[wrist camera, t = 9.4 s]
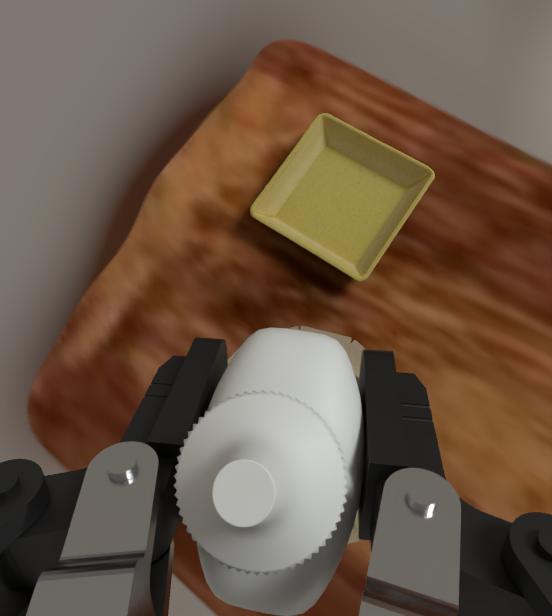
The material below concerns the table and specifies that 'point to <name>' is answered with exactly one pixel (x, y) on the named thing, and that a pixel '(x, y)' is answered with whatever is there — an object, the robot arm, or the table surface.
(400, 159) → the yellow square tray
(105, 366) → the table surface
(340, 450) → the eye dropper bottle
